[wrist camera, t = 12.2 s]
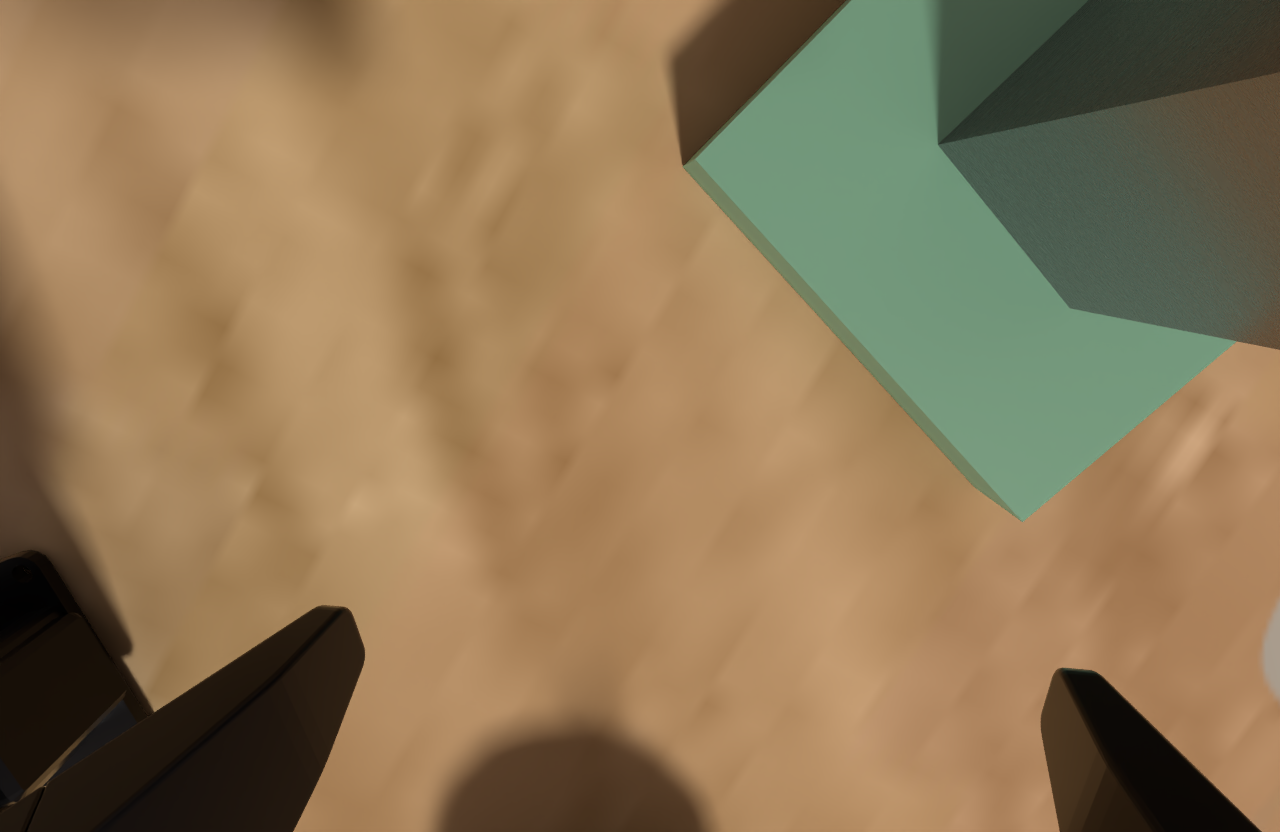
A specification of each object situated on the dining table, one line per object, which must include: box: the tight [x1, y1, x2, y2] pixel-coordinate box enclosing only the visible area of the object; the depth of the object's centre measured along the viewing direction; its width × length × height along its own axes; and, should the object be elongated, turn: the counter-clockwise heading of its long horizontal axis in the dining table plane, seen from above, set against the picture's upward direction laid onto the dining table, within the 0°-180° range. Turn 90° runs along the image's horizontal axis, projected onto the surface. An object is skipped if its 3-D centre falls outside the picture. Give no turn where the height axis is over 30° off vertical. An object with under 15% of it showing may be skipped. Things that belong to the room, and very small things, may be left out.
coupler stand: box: [683, 0, 1236, 522], centre depth 17 cm, size 13×12×4 cm
